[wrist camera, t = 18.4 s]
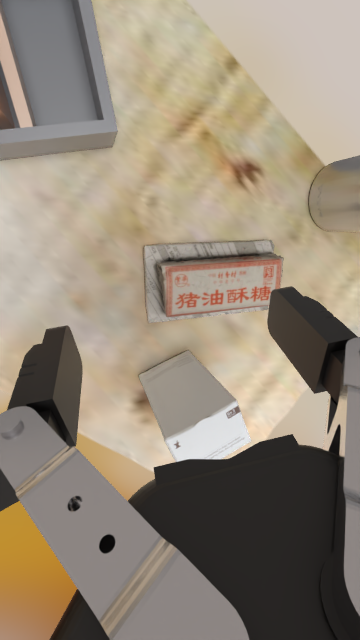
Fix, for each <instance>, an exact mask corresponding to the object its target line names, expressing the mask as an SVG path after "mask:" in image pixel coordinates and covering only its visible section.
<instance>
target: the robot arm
mask: <svg viewBox="0 0 360 640" xmlns="http://www.w3.org/2000/svg"><path fill="white" fill-rule="evenodd" d="M309 209H310V213H311V216H312V218H313V220H314V222H315V223H316V224H317V225H318V227H320V228H321V229H323V230H326V231H337V232H360V156H356V157H352V158H348V159H344V160H340V161H336V162H333V163H331V164H329V165H327V166H326V167H324V168H323V169H322V170H321V171H320V172H319V174H318V175H317V177H316V178H315V180H314V182H313V184H312V187H311V191H310V195H309ZM268 329H269V332H270V334H271V336H272V337H273V339H274V340H275V341H276V343H277V344H278V345H279V347H280V348H281V349H282V351H283V352H284V353H285V355H286V356H287V358H288V359H289V360H290V362H291V363H292V364H293V366H294V367H295V368H296V370H297V371H298V372H299V374H300V375H301V376H302V378H303V379H304V380H305V382H306V383H307V384H308V386H309V387H310V388H311V390H312V391H313V392H314V393H320V392H324V391H328V393H329V394H330V397H329V400H328V408H327V417H326V427H325V436H324V444H323V449H320V448H317V447H312V446H306V445H298V443H297V441H296V439H295V438H294V436H293V434H291V435H287V436H283V437H278V438H274V439H270V440H266V441H262V442H259V443H257V444H255V445H254V446H252V447H250V448H248V449H246V450H245V451H243V452H241V453H239V454H237V455H236V456H234V457H232V458H230V459H187V460H183V461H179V462H175V463H170V464H166V465H162V466H158V467H154V473H155V479H154V480H152V481H150V482H149V483H147V484H146V485H145V486H143V487H142V488H140V489H139V490H138V491H137V492H136V493H135V494H134V495H133V496H132V497H131V498H130V499H129V500H128V501H127V500H126V499H124V497H123V496H122V495H121V494H120V493H119V492H118V491H117V490H116V489H115V488H114V487H113V486H112V485H111V484H110V483H109V482H108V481H107V480H106V479H105V478H104V477H103V476H102V474H101V473H100V472H99V471H98V470H97V469H96V468H95V467H94V466H93V465H92V464H91V463H90V462H89V461H88V460H87V459H86V458H85V457H84V456H83V455H82V454H81V453H80V451H79V450H78V449H76V448H75V446H76V440H77V429H78V417H79V406H80V394H81V383H82V362H81V357H80V354H79V352H78V349H77V346H76V343H75V341H74V338H73V335H72V332H71V330H70V328H69V326H62V327H56V328H50V329H47V330H46V332H45V335H44V339H43V343H42V344H37V345H34V346H33V347H32V348H31V349H30V350H29V352H28V353H27V354H26V355H25V357H24V360H23V363H22V368H21V369H20V372H19V377H18V378H17V381H16V384H15V387H14V390H13V393H12V396H11V400H10V403H9V406H8V409H7V411H5V412H3V413H1V414H0V511H2V510H4V509H5V508H7V507H9V506H11V505H12V504H14V503H16V502H18V501H20V502H21V503H22V505H23V507H24V508H25V510H26V511H27V513H28V514H29V516H30V517H31V519H32V520H33V522H34V523H35V524H36V526H37V528H38V529H39V531H40V532H41V534H42V535H43V537H44V538H45V540H46V541H47V543H48V544H49V546H50V547H51V549H52V550H53V552H54V553H55V555H56V557H57V558H58V560H59V561H60V563H61V564H62V566H63V567H64V569H65V570H66V572H67V573H68V575H69V576H70V578H71V579H72V581H73V582H74V584H75V585H76V587H77V588H78V589H77V590H76V592H75V594H74V596H73V598H72V600H71V602H70V603H69V605H68V607H67V609H66V611H65V612H64V614H63V616H62V618H61V620H60V622H59V624H58V625H57V627H56V629H55V631H54V633H53V634H52V636H51V638H50V640H360V337H357V336H356V335H355V334H354V333H353V332H352V331H351V330H350V329H348V328H347V327H346V326H345V325H344V324H343V323H342V322H340V321H339V320H338V319H337V318H336V317H334V316H333V314H331V313H330V312H329V311H327V309H326V308H325V307H324V306H322V305H321V304H320V303H319V302H318V301H315V300H313V299H311V298H309V297H307V296H304V297H303V296H302V295H301V294H300V293H299V292H298V291H297V290H296V289H295V288H294V287H285V288H280V289H274V290H272V292H271V295H270V304H269V313H268Z"/></svg>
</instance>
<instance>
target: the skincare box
mask: <svg viewBox="0 0 360 640" xmlns="http://www.w3.org/2000/svg"><path fill="white" fill-rule="evenodd" d="M139 379H140V381H141V383H142V386H143V388H144V391H145V393H146V395H147V398H148V400H149V403H150V405H151V407H152V410H153V412H154V415H155V417H156V420H157V422H158V424H159V427H160V429H161V432H162V434H163V437H164V441H165V443H166V444H167V446H168V448H169V450H170V452H171V454H172V456H173V458H174V459H175V461H176V462H179V461H183V460H187V459H222V458H224V457H225V456H227V455H229V454H231V453H232V452H234V451H235V450H237V449H239V448H241V447H242V446H244V445H246V444H248V443H249V442H251V439H250V436H249V433H248V430H247V428H246V425H245V422H244V420H243V417H242V414H241V411H240V408H239V405H238V402H237V400H236V399H235V398H234V397H233V396H232V395H231V394H230V393H229V392H228V391H227V390H226V389H225V388H224V387H223V386H222V385H221V384H220V383H219V381H218V380H217V379H216V378H215V377H214V376H213V375H212V374H211V373H210V372H209V371H208V370H207V369H206V368H205V367H204V366H203V365H202V364H201V363H200V362H199V361H198V360H197V359H196V358H195V357H194V356H193V355H192V354H191V352H190V351H189V350H187V351H185V352H183V353H181V354H179V355H177V356H175V357H173V358H171V359H169V360H167V361H165V362H163V363H161V364H159V365H157V366H155V367H153V368H152V369H150V370H148V371H146V372H144V373H142V374H140V375H139Z"/></svg>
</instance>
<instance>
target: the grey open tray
mask: <svg viewBox="0 0 360 640" xmlns="http://www.w3.org/2000/svg"><path fill="white" fill-rule="evenodd" d="M0 77H1V80H2V83H3V87H4V90H5V94H6V97H7V101H8V104H9V107H10V111H11V114H12V118H13V121H14V125H15V128H14V129H4V130H0V160H6V159H15V158H23V157H32V156H40V155H48V154H57V153H65V152H73V151H82V150H90V149H98V148H107V147H112V146H113V143H114V141H115V138H116V135H117V132H118V130H117V125H116V120H115V115H114V110H113V106H112V101H111V96H110V91H109V86H108V81H107V76H106V71H105V66H104V61H103V56H102V51H101V46H100V41H99V37H98V32H97V27H96V22H95V17H94V12H93V7H92V2H91V0H0Z"/></svg>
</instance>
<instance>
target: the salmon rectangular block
mask: <svg viewBox="0 0 360 640" xmlns="http://www.w3.org/2000/svg"><path fill="white" fill-rule="evenodd" d="M14 128H15V125H14V121H13V118H12V114H11V111H10V107H9V104H8V101H7V97H6V94H5V90H4V87H3V83H2V80H1V77H0V130H4V129H14Z"/></svg>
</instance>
